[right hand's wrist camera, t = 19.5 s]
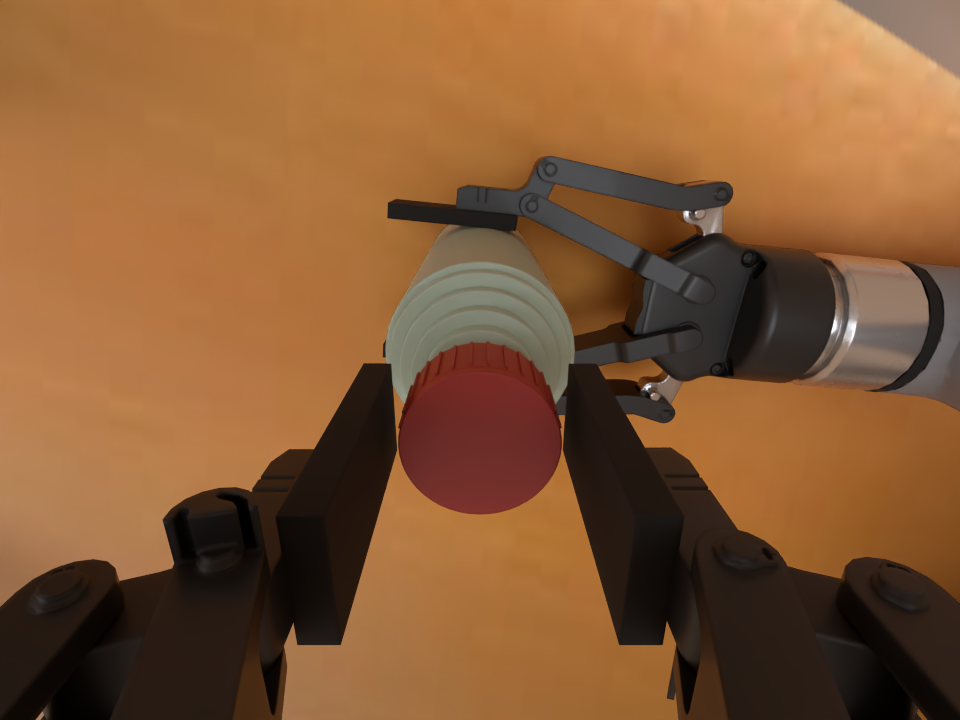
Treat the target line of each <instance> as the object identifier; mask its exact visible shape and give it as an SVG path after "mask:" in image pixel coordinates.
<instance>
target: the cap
mask: <svg viewBox="0 0 960 720" xmlns="http://www.w3.org/2000/svg"><path fill="white" fill-rule="evenodd" d="M402 413H403V414H402V417H401V420H400V423H399V428H400V431H399V437H398V447H399V455H400V459H401V462H402V465H403V467H404V470H405V472H406V474H407V475H408V477H409V479H410V480H411V482H412V483H413V484H414V485H415V486H416V488H417V489H418V490H419V491H420V492H421V493H423V494H424V495H425V496H426V497H428V498H429V499H430V500H432V501H433V502H435V503H437V504H439V505H441V506H443V507H445V508H448V509H450V510H454V511H457V512H462V513H468V514H492V513H498V512H503V511H506V510H510V509H512V508H515V507H517V506H519V505H521V504H523V503H525V502H527V501H528V500H530V499H531V498H533V497H534V496H535V495H536V494H537V493H539V492H540V491H541V490H542V489H543V488H544V487H545V485H546V484H547V483H548V482H549V480H550V479H551V477H552V476H553V474H554V472H555V470H556V468H557V465H558V462H559V459H560V455H561V448H562V437H561V430H560V428H561V423H560V420H559V416H558V411H557V408H556V404H555V401H554V398H553V395H552V392H551V388H550V385H547V384H546V381H545V378H544V374H543V372H542V371H541V372H539V370H538V369H537V368H536V367H535V366H534V362H533V361H532V360H531V361H529V360H528V359H527V358H526V357H524V356H523V355H521V352H520V351H518V352H516V351H514V350H512V349H510V348H507V347H506V345H503V346H501V345H496V344H491V343H490V342H488V341H487V342H486V343H473V341H472V342H470V343H469V344H463V345H459V346H457V345H454V347H453V348H450V349H448V350H446V351H444V352H442V351H440V352H439V355H437V356H436V357H435V358H433V359H432V360H431V361H429V360H428V361H427V362H426V366H425V367H424V368H423V369H422V370H421V372H417V374H416V377H415V381H414V384H413V385H411V386H410V389H409V392H408V395H407V398H406V401H405V405H404V408H403V411H402Z"/></svg>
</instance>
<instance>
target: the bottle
mask: <svg viewBox="0 0 960 720" xmlns="http://www.w3.org/2000/svg"><path fill="white" fill-rule="evenodd" d="M472 341H473V343H486V342H487V341H488V342H490V343H491V344H496V345H501V346H503V345H506V347H507V348H510V349H512V350H514V351H516V352H518V351H520V352H521V355H523V356H524V357H526V358H527V359H528V360H529V361H531V360H532V361H533V362H534V366H535V367H536V368H537V369H538V370H539V372H541V371H542V372H543V374H544V378H545V381H546V384H547V385H550V388H551V392H552V395H553V398H554V401H555V404H556V403H557V402H558V400H559V399H560V397H561V395H562V394H563V392H564V390H565V388H566V386H567V381H568V366H569V364H574V354H575V346H574V336H573V332H572V327H571V324H570V321H569V319H568V316H567V314H566V312H565V310H564V308H563V307H562V305H561V303H560V301H559V299H558V298H557V296H556V294H555V292H554V291H553V289H552V287H551V285H550V284H549V282H548V280H547V278H546V277H545V275H544V273H543V271H542V270H541V268H540V266H539V264H538V263H537V261H536V259H535V257H534V256H533V254H532V252H531V250H530V249H529V247H528V245H527V243H526V242H525V240H524V238H523V237H522V235H521V234H520V233H519V231H518V230H517V229H516V231H508V230H499V229H489V228H479V227H469V226H459V225H450V224H449V225H448V226H447V227H445V228H444V229H443V231H442V232H441V233H440V234H439V236H438V237H437V239H436V240H435V242H434V244H433V246H432V247H431V249H430V251H429V253H428V254H427V256H426V258H425V260H424V261H423V263H422V265H421V267H420V268H419V270H418V272H417V274H416V275H415V277H414V279H413V280H412V282H411V284H410V286H409V287H408V289H407V291H406V293H405V294H404V296H403V298H402V300H401V301H400V303H399V305H398V307H397V309H396V311H395V312H394V314H393V316H392V319H391V322H390V325H389V328H388V332H387V337H386V348H385V352H386V363H387V364H391V366H392V381H393V386H394V388H395V390H396V392H397V393H398V395H399V397H400V398H401V400H402V401H403V403H404V404H405V401H406V398H407V395H408V392H409V389H410V386H411V385H413V384H414V381H415V377H416V374H417V372H421V370H422V369H423V368H424V367H425V366H426V362H427V361H428V360H429V361H431V360H432V359H433V358H435V357H436V356H437V355H439V352H440V351H442V352H444V351H446V350H448V349H450V348H453V347H454V345H457V346H459V345H463V344H469V343H470V342H472Z"/></svg>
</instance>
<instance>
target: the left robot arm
mask: <svg viewBox="0 0 960 720" xmlns="http://www.w3.org/2000/svg"><path fill="white" fill-rule="evenodd" d="M554 184H559V185H563V186H567V187H572V188H576V189H581V190H585V191H590V192H594V193H599V194H603V195H608V196H612V197H616V198H621V199H625V200H630V201H634V202H639V203H643V204H648V205H652V206H657V207H661V208H665V209H670V210H676V211H677V216H678V218H679V219H680V220H681V221H682V222H685V223H688V224H693V225H694V226H695V228H696V230H697V234H695V235H693V236H691V237H689V238H688V239H686V240H684V241H682V242H680V243H679V244H677V245H675V246H673V247H671V248H669V249H668V250H666V251H664V252H662V253H660V254H658V255H655V254H653V253H651V252H649V251H647V250H645V249H643V248H641V247H640V246H638V245H636V244H634V243H632V242H630V241H628V240H626V239H624V238H622V237H620V236H618V235H616V234H614V233H612V232H610V231H608V230H606V229H604V228H602V227H600V226H598V225H597V224H595V223H593V222H591V221H589V220H587V219H585V218H583V217H581V216H579V215H577V214H575V213H573V212H571V211H569V210H567V209H565V208H563V207H561V206H559V205H557V204H556V203H554V202H552V201H550V200H548V199H547V198H548V196H549V194H550V192H551V190H552V188H553V186H554ZM732 196H733V188H732V187H731V185H730V184H728V183H727V182H719V181H705V180H701V181H694V182H687V183H680V184H672V183H668V182H663V181H659V180H655V179H650V178H646V177H641V176H637V175H633V174H628V173H624V172H620V171H615V170H611V169H606V168H602V167H598V166H593V165H589V164H585V163H580V162H576V161H571V160H567V159H563V158H558V157H554V156H546V157H541V158H539V159H538V160H537V161H536V162H535V164H534V166H533V169H532V172H531V174H530V176H529V178H528V180H527V182H526V183H525V184H524V185H523V186H522V187H520V188H518V189H504V188H494V187H485V186H475V185H466V186H463V187H460V188H458V191H457V203H456V205H448V204H439V203H429V202H419V201H410V200H400V199H395V200H393V201H391V202H389V203H388V218H391V219H400V220H410V221H420V222H430V223H440V224H450V225H459V226H469V227H479V228H489V229H499V230H508V231H516V224H517V216H524V217H528V218H530V219H532V220H534V221H535V222H537V223H539V224H541V225H543V226H545V227H547V228H549V229H551V230H553V231H555V232H557V233H559V234H561V235H563V236H565V237H567V238H569V239H571V240H573V241H575V242H577V243H579V244H581V245H583V246H585V247H587V248H589V249H591V250H593V251H595V252H597V253H599V254H601V255H603V256H605V257H607V258H609V259H611V260H613V261H615V262H617V263H619V264H621V265H623V266H625V267H627V268H629V269H631V270H633V271H634V272H635V274H634V279H633V284H632V288H633V300H632V302H631V304H630V306H629V308H628V310H627V313H626V318H625V321H624V322H619V323H615V324H612V325H609V326H608V327H607V328H605V329H602V330H598V331H594V332H590V333H586V334H581V335H577V336H574V346H575V354H574V364H597V366H601V365H606V364H610V363H614V362H624V363H630V362H635V361H639V360H644V359H648V358H651V359H652V360H653V361H654V362H655V363H656V364H657V365H658V366H659V367H660V368H661V369H663V371H662V373H661V374H659V375H658V376H655V377H641V378H640V379H639V382H635V381H631V380H623V379H605V380H606V381H607V383H608V385H609V387H610V388H611V390H612V392H613V394H614V395H615V397H616V399H617V400H618V402H619V404H620V406H621V407H622V409H623V411H624V413H625V414H635V415H638V416H641V417H644V418H647V419H650V420H654V421H657V422H660V423H667V422H669V421H671V420H672V419H673V418H674V416H675V410H674V408H673V407H672V406H671V403H672V401H673V399H674V397H675V396H676V394H677V392H678V390H679V388H680V386H681V384H682V383H683V382H686V381H691V380H694V379H696V378H699V377H703V376H716V377H722V378H730V379H741V380H752V381H763V382H773V383H786V382H790V383H793V384H796V385H802V386H815V387H827V388H840V389H853V390H864V391H871V392H886V393H895V394H904V395H913V396H922V397H926V398H930V399H934V400H937V401H940V402H942V403H945V404H947V405H949V406H950V407H952V408H954V409H956V410H958V411H960V267H955V266H943V265H932V264H920V263H909V262H905V261H898V260H889V259H880V258H871V257H862V256H852V255H843V254H834V253H823V252H818V253H814V254H813V253H811V252H809V251H806V250H798V249H788V248H778V247H768V246H759V245H749V244H740V243H737V242H735V241H733V240H732V239H731V238H730V237H729V236H727V235H725V234H722V232H723V206H725V205H726V204H728V203H729V202H730V200H731V199H732ZM385 348H386V340H385V342H384V344H383V357H386V352H385ZM566 396H567V386H566V388H565V390H564V392H563V394H562V395H561V397H560V399H559V400H558V402H557V403H556V408H557V411H558V415H565V411H566Z"/></svg>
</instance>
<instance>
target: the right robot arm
mask: <svg viewBox="0 0 960 720" xmlns="http://www.w3.org/2000/svg"><path fill="white" fill-rule="evenodd" d="M396 452H397V441H396V426H395V411H394V396H393V381H392V366H391V364H363V366H362V368H361V369H360V371H359V373H358V374H357V376H356V378H355V380H354V381H353V383H352V385H351V387H350V388H349V390H348V392H347V393H346V395H345V397H344V399H343V400H342V402H341V404H340V406H339V407H338V409H337V411H336V413H335V414H334V416H333V418H332V419H331V421H330V423H329V425H328V426H327V428H326V430H325V432H324V433H323V435H322V437H321V439H320V440H319V442H318V444H317V445H316V447H315V449H289V450H287V451H286V452H285V453H283V454H282V455H280V456H279V457H277V458H276V459H275V460H273V461H272V462H271V463H270V464H269V466H268V467H267V469H266V470H265V471H264V473H263V474H262V476H261V479H259V480H258V481H257V483H256V484H255V486H254V487H253V489H252V492H250V491H249V490H245V489H241V488H237V487H232V488H217V489H213V490H209V491H204V492H201V493H199V494H196V495H194V496H192V497H189V498H187V499H185V500H183V501H182V502H181V503H179V504H178V505H176V506H175V507H173V508H172V509H171V510H170V511H169V512H168V514H167V515H166V516H165V517H164V519H163V523H164V527H165V530H166V534H167V538H168V541H169V545H170V549H171V553H172V556H173V560H174V566H173V568H172V569H169V570H165V571H162V572H158V573H154V574H149V575H145V576H140V577H136V578H131V579H127V580H122V581H119V578H118V575H117V572H116V569H115V568H114V567H113V566H112V565H111V564H110V563H109V562H107V561H101V560H95V559H92V560H84V561H76V562H72V563H69V564H66V565H62V566H60V567H57V568H54V569H52V570H50V571H48V572H46V573H44V574H43V575H41V576H39V577H37V578H35V579H33V580H32V581H30V582H29V583H28V584H26V585H25V586H24V587H22V588H21V589H20V590H18V591H17V592H16V593H15V594H14V595H13V596H12V597H11V598H9V599H8V600H7V601H6V602H5V603H4V604H3V605H2V606H1V607H0V720H36V718H37V717H38V716H39V715H40V713H41V712H42V711H43V713H44V716H43V717H42V719H41V720H282V711H283V701H284V692H285V682H286V673H287V662H286V655H285V649H284V644H285V642H286V639H287V637H288V634H289V632H290V629H291V627H292V624H293V622H294V628H295V634H296V639H297V645H341V642H342V639H343V635H344V632H345V628H346V625H347V621H348V618H349V614H350V611H351V607H352V604H353V601H354V597H355V594H356V590H357V587H358V583H359V580H360V576H361V573H362V569H363V566H364V562H365V559H366V556H367V552H368V549H369V545H370V542H371V538H372V535H373V531H374V528H375V524H376V521H377V517H378V514H379V511H380V507H381V504H382V500H383V497H384V493H385V490H386V486H387V483H388V479H389V476H390V472H391V469H392V465H393V462H394V459H395V455H396ZM563 452H564V455H565V459H566V462H567V465H568V469H569V472H570V476H571V479H572V483H573V486H574V490H575V493H576V497H577V500H578V504H579V507H580V511H581V514H582V517H583V521H584V524H585V528H586V531H587V535H588V538H589V542H590V545H591V549H592V552H593V556H594V559H595V562H596V566H597V569H598V573H599V576H600V580H601V583H602V587H603V590H604V594H605V597H606V601H607V604H608V608H609V611H610V614H611V618H612V621H613V625H614V628H615V632H616V635H617V639H618V642H619V645H663V639H664V634H665V628H666V622H668V624H669V627H670V629H671V632H672V634H673V637H674V639H675V642H676V649H675V655H674V660H673V666H672V671H671V676H670V682H669V687H668V694H667V699H672V700H674V696H675V691H676V700H677V710H678V719H679V720H921V718H920V717H919V716H918V714H917V711H918V708H919V710H920V711H921V712H922V713H923V715H924V716H925V717H926V718H927V720H960V604H959V603H958V602H957V601H956V600H955V599H954V598H953V597H952V596H951V595H950V594H949V593H948V592H947V591H945V590H944V589H943V588H942V587H940V586H939V585H938V584H936V583H935V582H934V581H932V580H931V579H930V578H928V577H927V576H925V575H923V574H921V573H919V572H917V571H915V570H913V569H911V568H909V567H907V566H905V565H902V564H899V563H895V562H892V561H889V560H886V559H878V558H871V557H865V558H858V559H853V560H852V561H851V562H850V563H848V564H847V565H846V566H845V569H844V572H843V575H842V578H841V579H839V578H834V577H830V576H825V575H821V574H816V573H812V572H807V571H803V570H799V569H796V568H792V567H789V566H787V565H786V562H785V561H784V560H783V558H782V557H781V555H780V554H779V552H778V551H777V550H776V549H774V548H773V547H772V546H771V545H769V544H768V543H767V542H765V541H764V540H762V539H760V538H758V537H756V536H754V535H752V534H750V533H747V532H743V531H739V530H738V529H737V528H736V526H735V525H734V523H733V522H732V521H731V519H730V518H729V516H728V515H727V513H726V512H725V511H724V509H723V508H722V506H721V505H720V503H719V502H718V501H717V499H716V498H715V496H714V495H713V494H712V492H711V491H710V490H708V486H707V485H706V484H705V482H704V481H703V479H702V478H700V477H699V474H698V472H697V471H696V469H695V468H694V466H693V465H692V464H691V462H690V461H689V460H688V459H687V458H685V457H684V456H682V455H681V454H679V453H678V452H677V451H675V450H674V449H672V448H645V447H644V445H643V444H642V442H641V440H640V439H639V437H638V435H637V433H636V432H635V430H634V428H633V426H632V425H631V423H630V421H629V419H628V418H627V416H626V414H625V413H624V411H623V409H622V407H621V406H620V404H619V402H618V400H617V399H616V397H615V395H614V394H613V392H612V390H611V388H610V387H609V385H608V383H607V381H606V380H605V378H604V376H603V374H602V373H601V371H600V369H599V368H598V366H597V364H569V366H568V381H567V396H566V411H565V426H564V441H563Z"/></svg>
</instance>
